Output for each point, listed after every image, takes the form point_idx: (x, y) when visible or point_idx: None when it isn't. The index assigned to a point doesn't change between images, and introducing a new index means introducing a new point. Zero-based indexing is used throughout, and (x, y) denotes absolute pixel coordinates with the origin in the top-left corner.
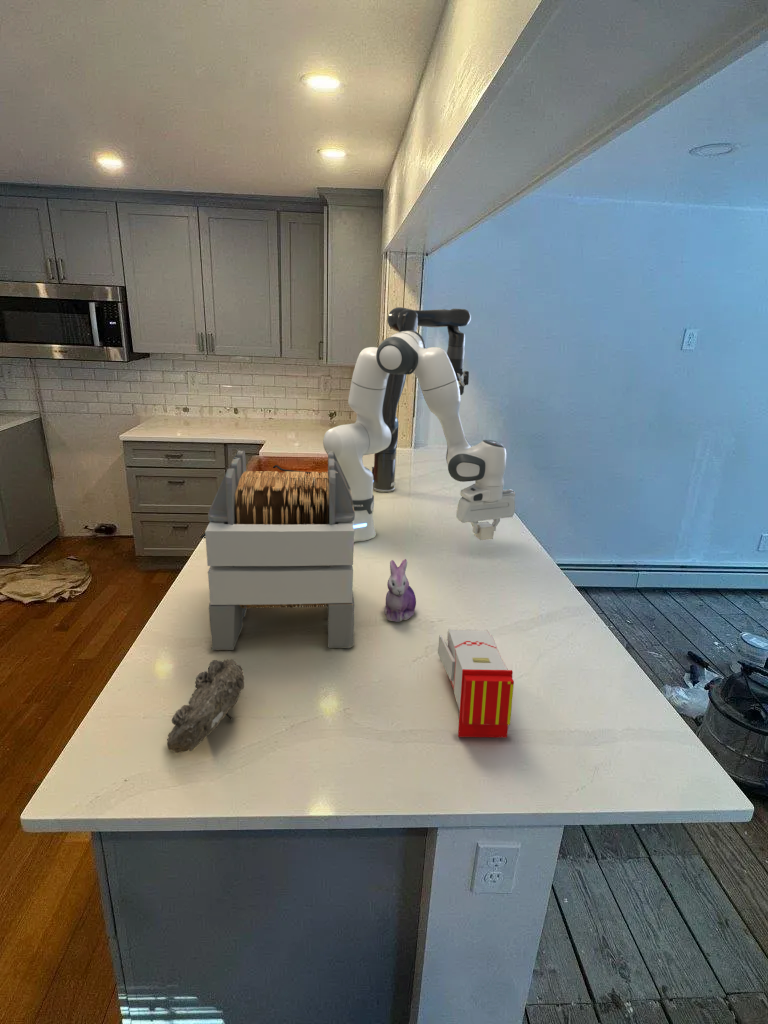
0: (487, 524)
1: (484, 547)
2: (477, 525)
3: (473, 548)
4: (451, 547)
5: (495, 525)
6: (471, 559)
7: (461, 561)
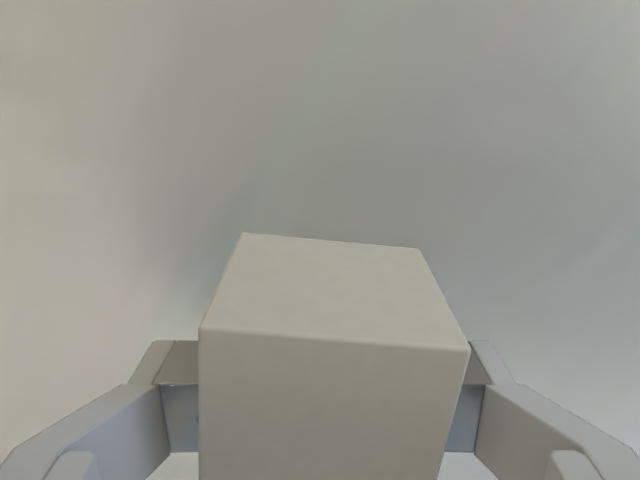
0: (370, 451)
1: (419, 142)
2: (201, 399)
3: (306, 131)
4: (104, 39)
5: (494, 468)
6: (181, 312)
7: (91, 318)
